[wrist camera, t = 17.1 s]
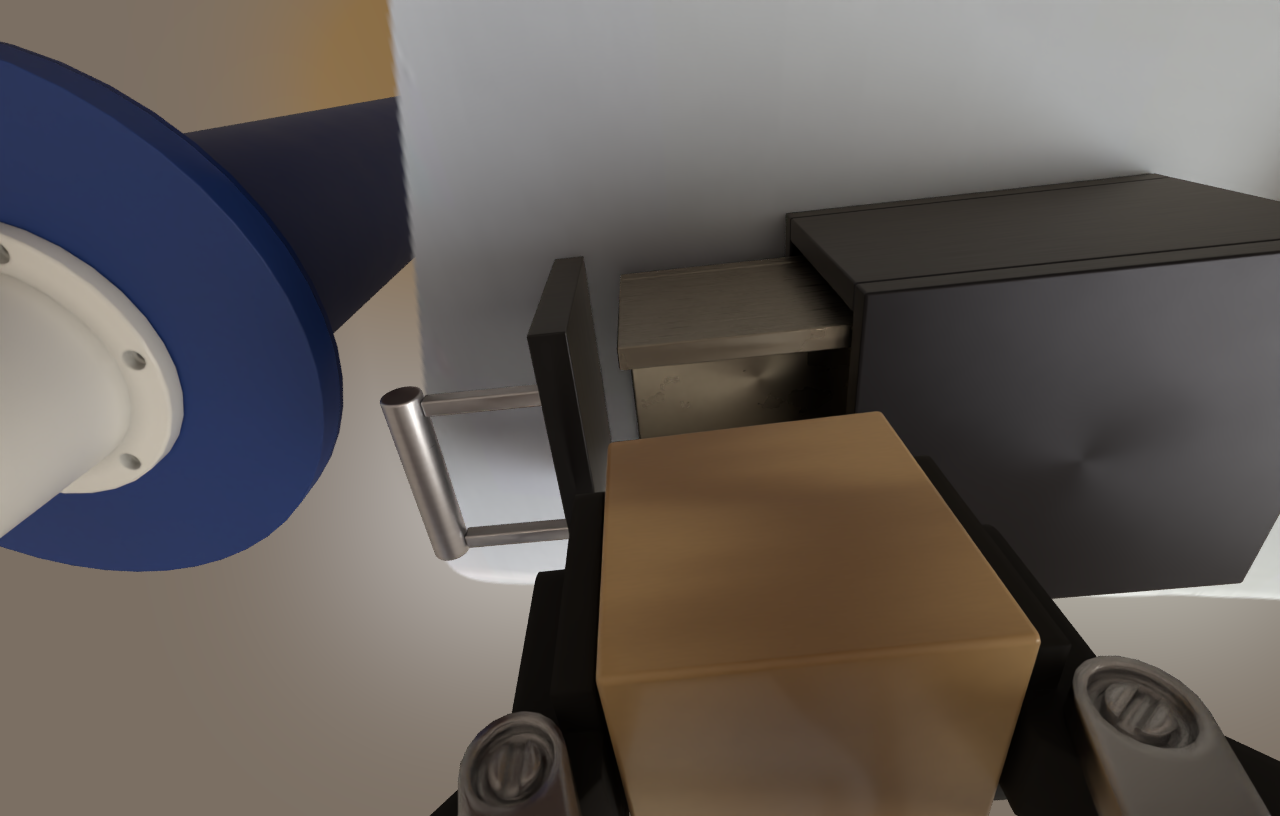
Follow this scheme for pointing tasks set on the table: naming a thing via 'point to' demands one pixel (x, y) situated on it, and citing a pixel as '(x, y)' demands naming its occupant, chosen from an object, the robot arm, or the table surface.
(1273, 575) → the table surface
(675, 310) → the drawer
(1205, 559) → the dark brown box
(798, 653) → the block
